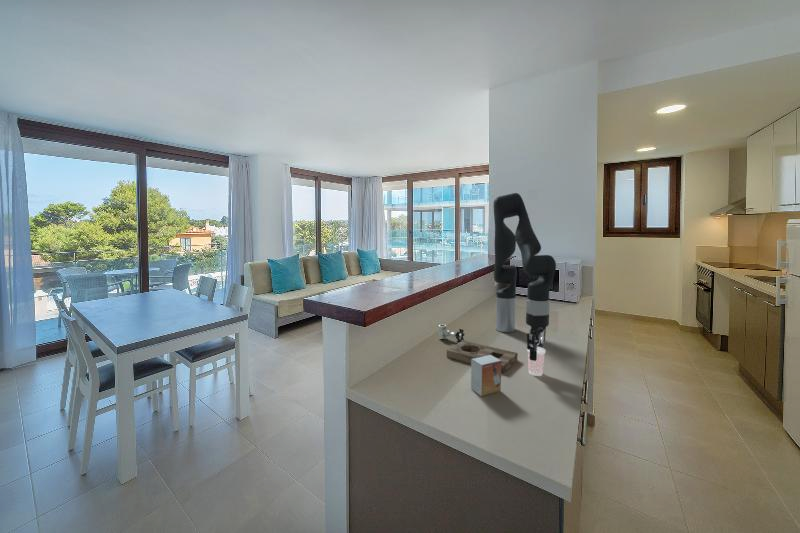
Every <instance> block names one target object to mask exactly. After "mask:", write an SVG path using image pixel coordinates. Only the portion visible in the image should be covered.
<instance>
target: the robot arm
mask: <svg viewBox="0 0 800 533" xmlns="http://www.w3.org/2000/svg"><path fill="white" fill-rule="evenodd" d="M516 216H517V217H518V223H517V227H516V230H515V233H514V232H513V231H512V230H511V229H510V228H509V227H508V226H507V225H506V223H505V221H504V220H505V219H509V218H512V217H516ZM493 219H494V220H493V221H494V266H493V279H494V280H493V281H494V282H495V283H496V284H508V286H506V287H504V288H501V289H498V290H497V291H496V298H495V300H496V301H495V302H496V303H495V304H496V307H495V309H496V310H495V312H496V313H495V330H496V331H498V332H501V333H513V332H515V331H516V305H517V304H516V302H517V301H516V300H517V299H516V297H517V277H518V276H517V275H518V270H517V267H516V266H515V265H509V264H507V265H506V264H505V262H506V261H508V260H509V259H510V258H511V257H512V256H513V255H514V253H515V252H516V248H517V247H518V248H519V251H520V254H521V261H522V262H521V263H522V264H521V266H522V269H523V271H524V273H525V274H526V275H528V276H530V277H537V276H538V279H536V280H534V281H531V282H529V283H528V285H527V294H526V296H527V297H526V298H527V299H526V306H525V308H526V309H525V324H526V325H528V326H530V329H529V332H528V333H526V346H527V347H526V350H527V349H528V350H530V360H533V361H536V360H537V347H541V348H544V347H543V346H544V342H545V341H546V332H547V327H549V325H550V324H549V323H550V288H551V285H552V282H553V279H554V276H555V273H556V271H557V263H556V260H555V258H554V256H552V255H549V254H541V255H538V254H539V253H541V250H542V245H541V243H540V241H539V239H538V237H537V235H536V233H535V232H534V230H533V227H532V223H531V220H530V217H529V214H528V212H527V208H526V205H525V203H524V200H523V198H522V196H521V194H519V193H517V192H513V193H509V194H508V193H507V194H504V195H500V196H497V197H495V198H494V200H493ZM516 246H517V247H516ZM532 346H533V347H532Z"/></svg>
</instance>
